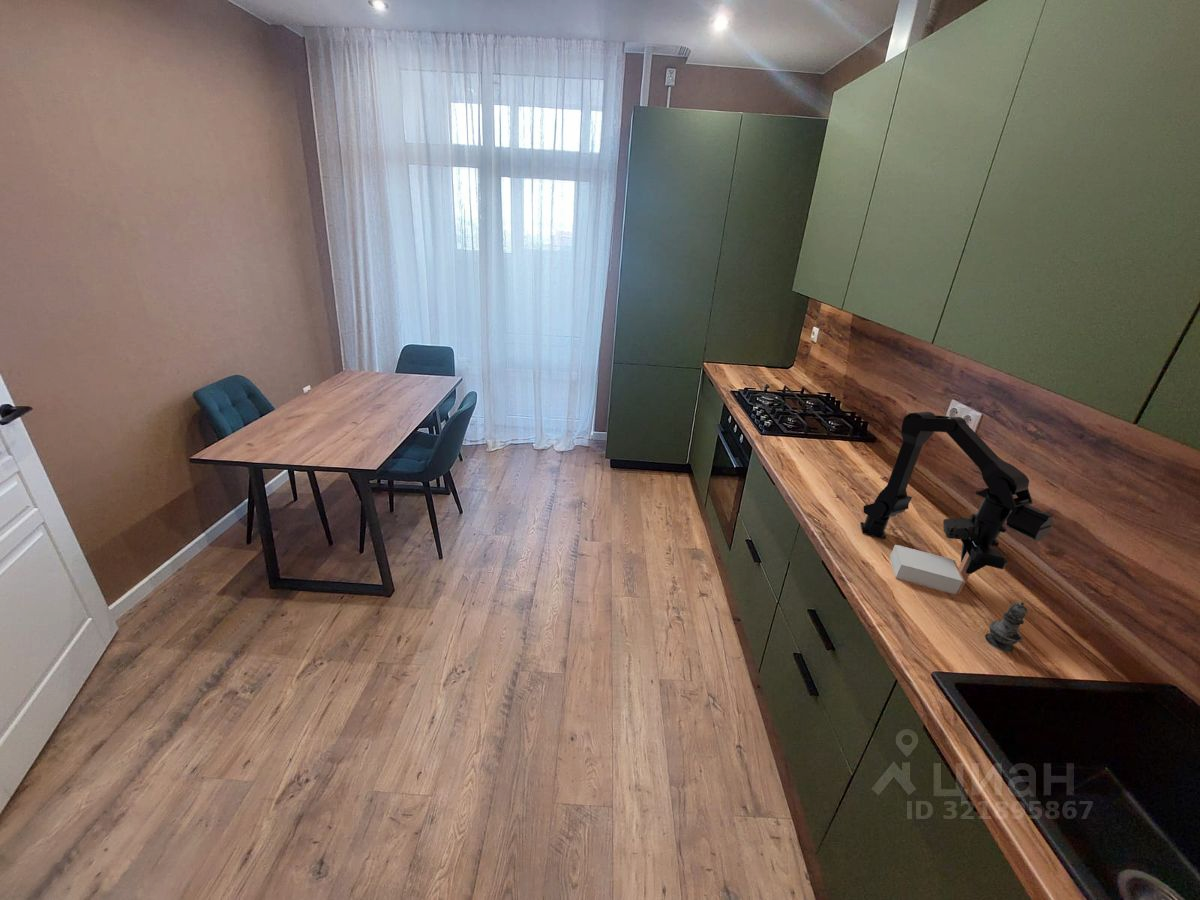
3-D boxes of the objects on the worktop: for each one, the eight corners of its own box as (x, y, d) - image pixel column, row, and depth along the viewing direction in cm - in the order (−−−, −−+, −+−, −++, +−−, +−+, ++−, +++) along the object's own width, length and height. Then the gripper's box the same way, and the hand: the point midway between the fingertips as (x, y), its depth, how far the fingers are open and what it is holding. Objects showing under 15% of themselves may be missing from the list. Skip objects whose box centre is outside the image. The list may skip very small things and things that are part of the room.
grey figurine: (984, 628, 113) (1006, 589, 108) (1015, 642, 109) (1039, 602, 104) (982, 642, 108) (1006, 602, 103) (1015, 657, 105) (1040, 616, 100)
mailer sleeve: (889, 557, 136) (895, 544, 134) (945, 572, 132) (952, 559, 130) (895, 578, 127) (901, 564, 125) (955, 594, 123) (962, 581, 121)
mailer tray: (892, 557, 136) (904, 528, 132) (956, 573, 131) (971, 545, 127) (898, 577, 127) (911, 548, 123) (967, 596, 122) (983, 566, 118)
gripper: (944, 493, 129) (922, 540, 135) (964, 527, 113) (939, 580, 119) (992, 503, 125) (968, 552, 132) (1020, 541, 109) (991, 594, 116)
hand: (965, 568), depth 125 cm, fingers open, 4 cm apart
